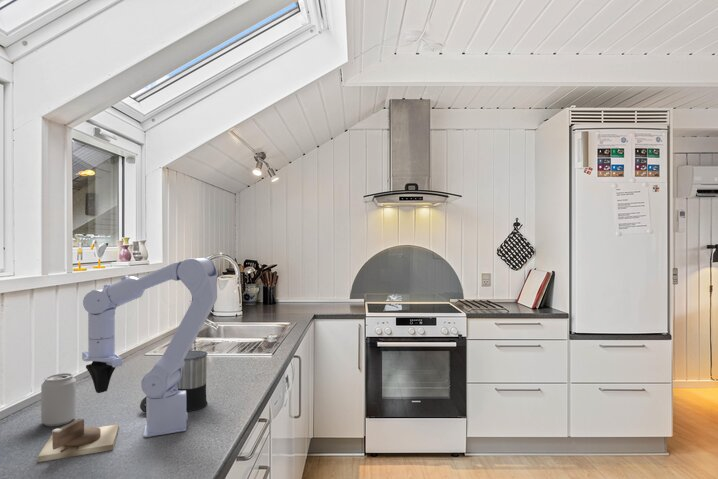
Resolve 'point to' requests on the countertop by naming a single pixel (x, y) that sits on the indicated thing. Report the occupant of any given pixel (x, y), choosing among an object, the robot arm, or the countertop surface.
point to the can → (58, 399)
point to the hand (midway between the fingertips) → (101, 391)
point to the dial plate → (98, 445)
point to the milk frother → (191, 381)
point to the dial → (75, 434)
